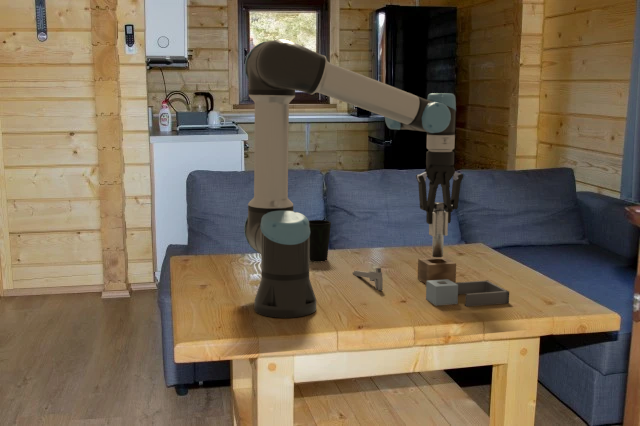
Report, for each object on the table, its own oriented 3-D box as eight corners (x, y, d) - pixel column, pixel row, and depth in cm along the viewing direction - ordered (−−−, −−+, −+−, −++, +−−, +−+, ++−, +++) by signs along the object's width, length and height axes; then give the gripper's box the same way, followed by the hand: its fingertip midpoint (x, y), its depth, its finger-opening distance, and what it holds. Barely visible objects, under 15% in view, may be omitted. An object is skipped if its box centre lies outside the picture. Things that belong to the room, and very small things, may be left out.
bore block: (428, 286, 210) (429, 265, 209) (417, 279, 218) (418, 258, 217) (455, 284, 212) (456, 263, 211) (443, 277, 220) (444, 257, 219)
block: (435, 305, 191) (436, 286, 191) (425, 299, 197) (426, 280, 196) (457, 304, 193) (458, 284, 192) (447, 298, 199) (448, 278, 198)
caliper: (382, 292, 204) (383, 269, 203) (378, 292, 204) (379, 269, 203) (355, 274, 224) (356, 253, 223) (352, 274, 223) (352, 253, 222)
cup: (335, 258, 242) (335, 221, 240) (322, 263, 235) (322, 225, 233) (314, 255, 246) (314, 219, 244) (301, 260, 239) (301, 222, 237)
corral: (466, 306, 191) (467, 294, 190) (447, 294, 202) (447, 283, 201) (508, 303, 194) (509, 291, 193) (487, 291, 205) (487, 280, 204)
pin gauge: (434, 257, 212) (436, 204, 209) (430, 255, 215) (431, 202, 212) (445, 257, 213) (446, 203, 210) (440, 254, 216) (441, 202, 213)
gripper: (418, 152, 203) (416, 239, 207) (473, 150, 207) (470, 236, 211) (407, 149, 210) (406, 233, 214) (461, 148, 215) (458, 231, 218)
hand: (438, 234), depth 213 cm, fingers closed on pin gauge, 3 cm apart
